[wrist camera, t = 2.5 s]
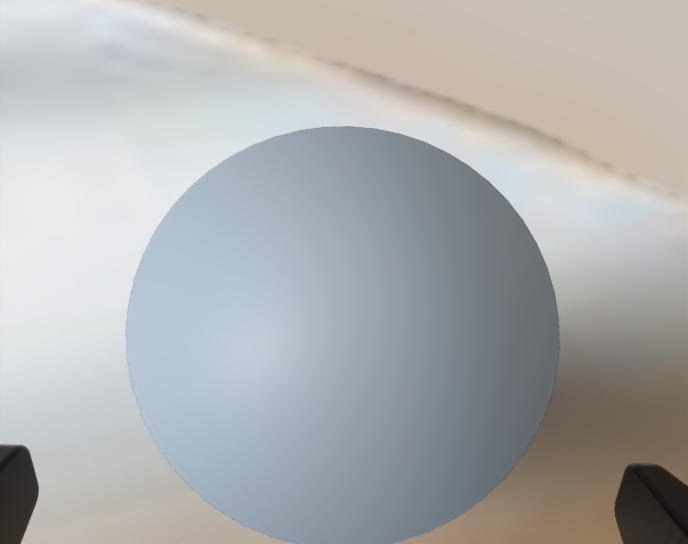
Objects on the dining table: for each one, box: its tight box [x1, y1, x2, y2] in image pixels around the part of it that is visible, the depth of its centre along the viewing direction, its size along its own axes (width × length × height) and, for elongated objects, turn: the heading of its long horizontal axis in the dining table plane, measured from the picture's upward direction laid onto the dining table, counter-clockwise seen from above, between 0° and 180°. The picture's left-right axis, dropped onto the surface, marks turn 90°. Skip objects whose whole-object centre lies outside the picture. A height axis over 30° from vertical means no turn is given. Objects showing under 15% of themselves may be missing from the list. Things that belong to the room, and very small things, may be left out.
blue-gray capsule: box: [126, 126, 559, 544], centre depth 12 cm, size 4×4×12 cm
